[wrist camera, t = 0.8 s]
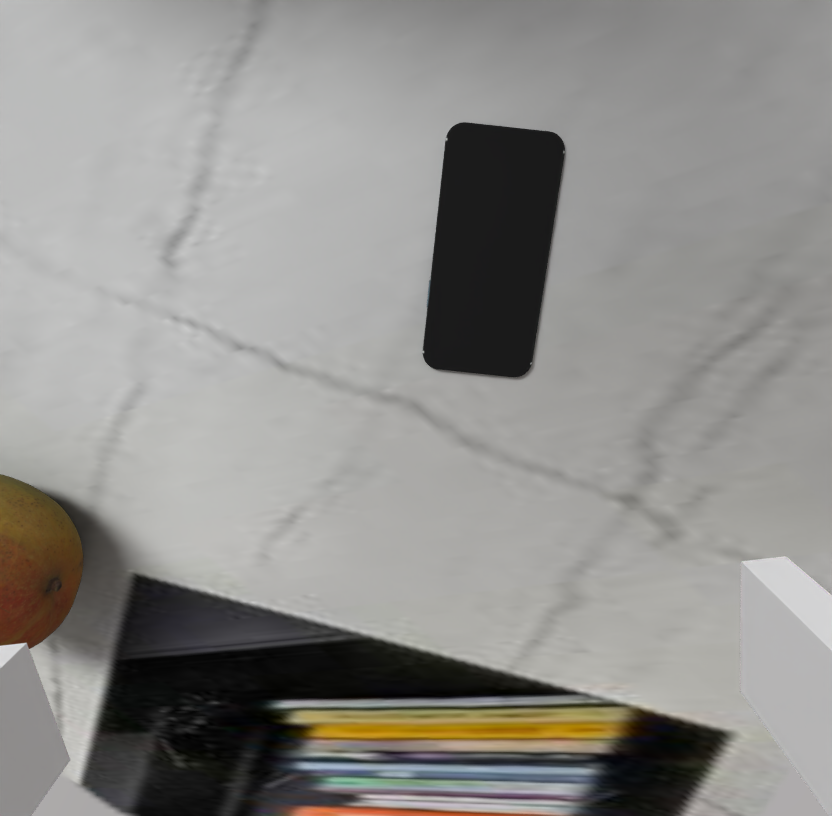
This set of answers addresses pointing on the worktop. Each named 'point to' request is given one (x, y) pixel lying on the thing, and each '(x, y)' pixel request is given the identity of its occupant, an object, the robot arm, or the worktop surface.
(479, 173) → the smartphone
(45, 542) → the fruit
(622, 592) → the worktop surface
